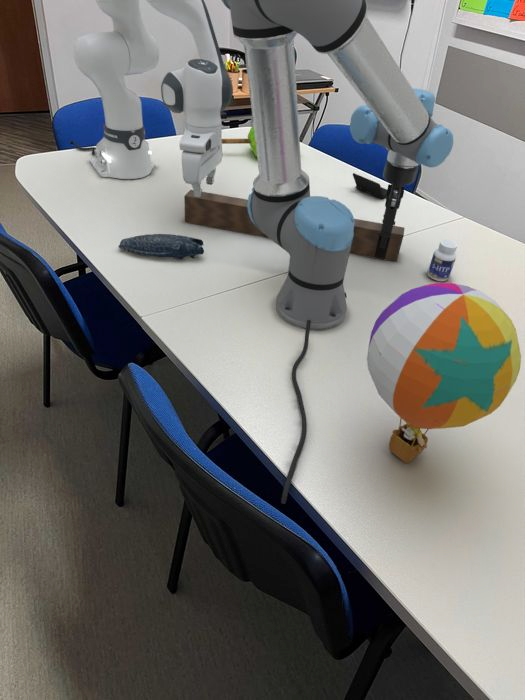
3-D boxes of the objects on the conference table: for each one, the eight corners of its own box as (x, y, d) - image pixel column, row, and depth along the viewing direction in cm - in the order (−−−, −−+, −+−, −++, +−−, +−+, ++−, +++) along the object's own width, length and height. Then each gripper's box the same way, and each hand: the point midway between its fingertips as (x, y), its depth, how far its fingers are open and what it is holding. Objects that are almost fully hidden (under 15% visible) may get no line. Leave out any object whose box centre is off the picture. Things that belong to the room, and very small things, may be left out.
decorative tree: (213, 119, 187) (294, 118, 192) (214, 148, 193) (292, 147, 198) (219, 133, 173) (306, 132, 178) (220, 165, 179) (303, 163, 185)
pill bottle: (425, 278, 127) (436, 245, 122) (428, 268, 131) (438, 236, 126) (447, 283, 126) (459, 250, 120) (449, 273, 130) (460, 241, 124)
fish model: (201, 265, 124) (201, 246, 121) (115, 255, 125) (113, 236, 122) (206, 252, 129) (206, 234, 126) (124, 243, 130) (122, 224, 127)
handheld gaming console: (396, 188, 169) (390, 167, 160) (387, 206, 167) (380, 186, 159) (365, 182, 175) (357, 162, 166) (355, 200, 174) (347, 180, 165)
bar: (397, 253, 137) (404, 227, 132) (396, 262, 133) (403, 235, 128) (190, 215, 146) (190, 189, 141) (184, 222, 142) (184, 195, 137)
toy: (317, 443, 83) (351, 282, 64) (393, 393, 94) (441, 242, 75) (417, 530, 72) (494, 366, 53) (490, 462, 83) (575, 305, 64)
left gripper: (205, 123, 137) (206, 175, 146) (176, 144, 121) (178, 201, 130) (228, 126, 136) (227, 178, 145) (201, 148, 120) (202, 205, 129)
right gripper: (388, 149, 128) (369, 235, 143) (383, 173, 114) (362, 265, 129) (419, 154, 127) (396, 240, 141) (417, 178, 113) (392, 271, 128)
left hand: (204, 189), depth 137 cm, fingers open, 8 cm apart
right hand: (380, 252), depth 135 cm, fingers closed on bar, 5 cm apart
